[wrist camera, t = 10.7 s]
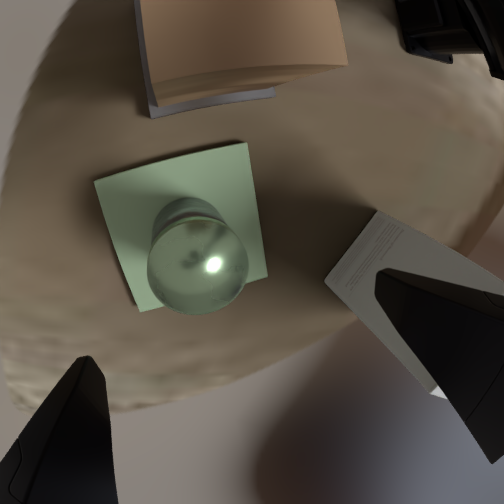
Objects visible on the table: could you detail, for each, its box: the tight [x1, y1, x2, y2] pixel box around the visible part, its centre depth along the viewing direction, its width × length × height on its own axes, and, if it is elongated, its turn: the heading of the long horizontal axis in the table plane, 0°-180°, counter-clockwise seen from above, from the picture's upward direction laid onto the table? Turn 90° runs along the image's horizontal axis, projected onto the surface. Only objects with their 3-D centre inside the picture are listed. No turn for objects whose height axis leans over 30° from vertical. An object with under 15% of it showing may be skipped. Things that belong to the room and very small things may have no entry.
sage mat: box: [94, 142, 268, 312], centre depth 17 cm, size 9×9×1 cm
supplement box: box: [324, 211, 504, 399], centre depth 18 cm, size 7×7×13 cm
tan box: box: [134, 0, 348, 119], centre depth 9 cm, size 7×8×9 cm
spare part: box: [147, 197, 249, 315], centre depth 15 cm, size 5×5×5 cm
